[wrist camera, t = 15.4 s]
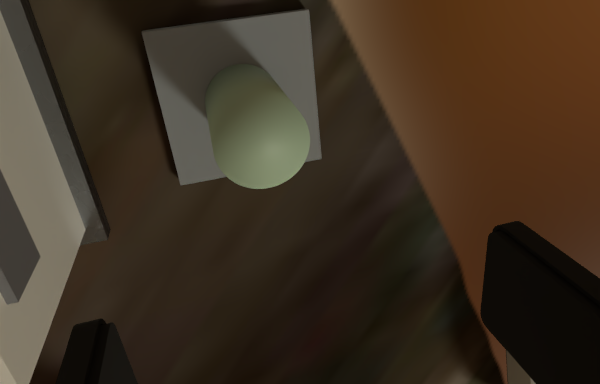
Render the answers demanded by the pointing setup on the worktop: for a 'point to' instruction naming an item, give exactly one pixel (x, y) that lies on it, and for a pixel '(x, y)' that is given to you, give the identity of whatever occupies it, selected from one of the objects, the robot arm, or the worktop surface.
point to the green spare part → (254, 128)
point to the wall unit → (36, 193)
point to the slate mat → (215, 57)
